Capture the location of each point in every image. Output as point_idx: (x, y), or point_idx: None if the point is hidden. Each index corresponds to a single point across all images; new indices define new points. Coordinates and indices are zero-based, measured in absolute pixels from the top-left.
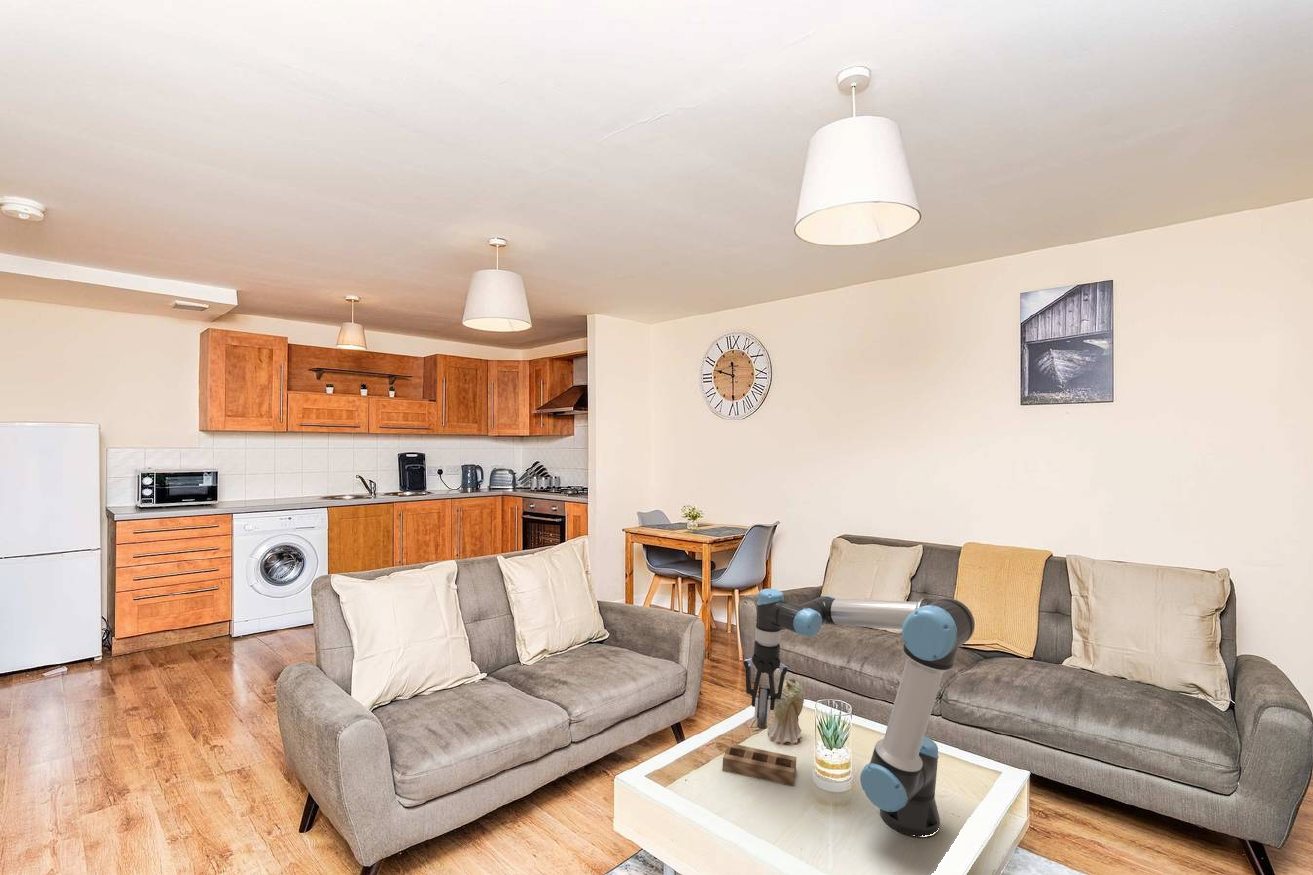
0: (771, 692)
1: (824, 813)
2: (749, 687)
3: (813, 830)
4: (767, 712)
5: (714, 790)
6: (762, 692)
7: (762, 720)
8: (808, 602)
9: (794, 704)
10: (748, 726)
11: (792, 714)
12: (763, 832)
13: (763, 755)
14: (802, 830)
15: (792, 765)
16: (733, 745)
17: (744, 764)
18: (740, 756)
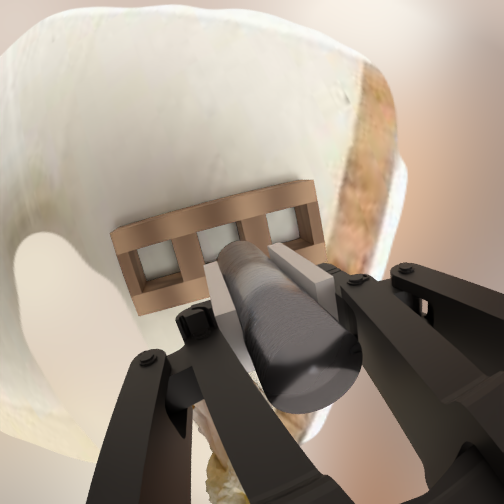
0: (219, 358)
1: (31, 172)
2: (425, 284)
3: (38, 100)
4: (219, 277)
5: (278, 90)
6: (304, 314)
7: (236, 252)
8: None
9: (222, 469)
10: None
11: (220, 447)
12: (126, 27)
13: None
14: (56, 84)
15: (128, 267)
16: (312, 257)
17: (250, 193)
18: None
